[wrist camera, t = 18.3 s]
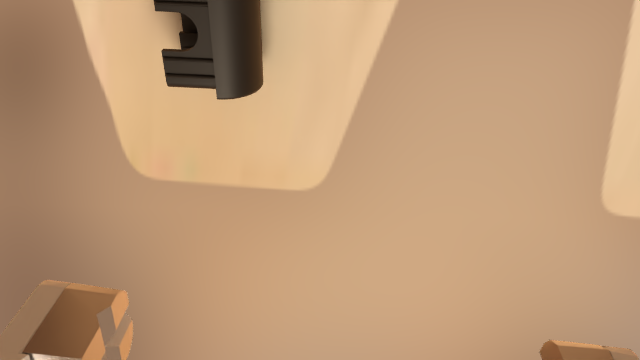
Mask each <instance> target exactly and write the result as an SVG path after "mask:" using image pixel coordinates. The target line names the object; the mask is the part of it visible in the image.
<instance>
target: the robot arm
mask: <svg viewBox="0 0 640 360" xmlns="http://www.w3.org/2000/svg"><path fill="white" fill-rule="evenodd" d="M128 305H129V299H128V295H127V291H123V290H118V289H111V288H104V287H97V286H90V285H83V284H76V283H68V282H60V281H53V280H45V281H43V282H42V283H40V285H38V286H37V287H36V288H35V290H34V291H33V293H32V294H31V295H30V296H29V298H28V299H27V301H26V302H25V303H24V304H23V306H22V307H21V308H20V310H19V311H18V312H17V314H16V315H15V317H14V318H13V319H12V320H11V322H10V323H9V324H8V326H7V327H6V328H5V330H4V331H3V333H2V334H1V335H0V360H127V357H128V355H129V352H130V348H131V344H132V340H133V323H132V319H131V318H130V317H129V316H128V315H127V314H126V313H125V311H126V309H127V307H128ZM540 355H541V358H542V360H639V358H638V357H637V355H636V354H635V353H634V352H633V351H632V350H631V349H625V348H617V347H609V346H600V345H594V344H585V343H575V342H565V341H557V340H549V341H547V342H545V343H544V344H543V347H542V348H541V350H540Z"/></svg>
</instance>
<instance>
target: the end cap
mask: <svg viewBox="0 0 640 360" xmlns="http://www.w3.org/2000/svg"><path fill="white" fill-rule="evenodd" d="M154 5H155V11H165V12H179V13H181V17H182V25H183V32H180V33H179V36H180V43H181V50H178V49H163V50H162V57H163V63H164V70H165V76H166V82H167V85H168V86H169V87H189V88H210V89H216V94H217V99H235V98H241V97H245V96H248V95H251V94H253V93H255V92H256V91H258V90H259V89H260V88H261V87H262V85H263V64H262V39H261V15H260V0H154Z"/></svg>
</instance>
